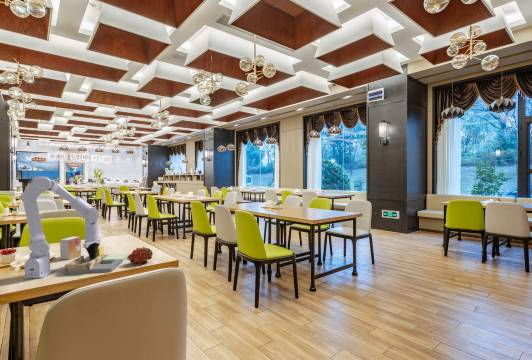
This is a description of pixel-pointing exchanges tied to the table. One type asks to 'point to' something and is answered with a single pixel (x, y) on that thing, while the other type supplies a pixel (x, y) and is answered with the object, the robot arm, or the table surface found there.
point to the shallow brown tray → (76, 266)
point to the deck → (102, 264)
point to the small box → (70, 247)
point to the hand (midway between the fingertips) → (92, 258)
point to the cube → (99, 252)
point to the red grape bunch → (140, 255)
